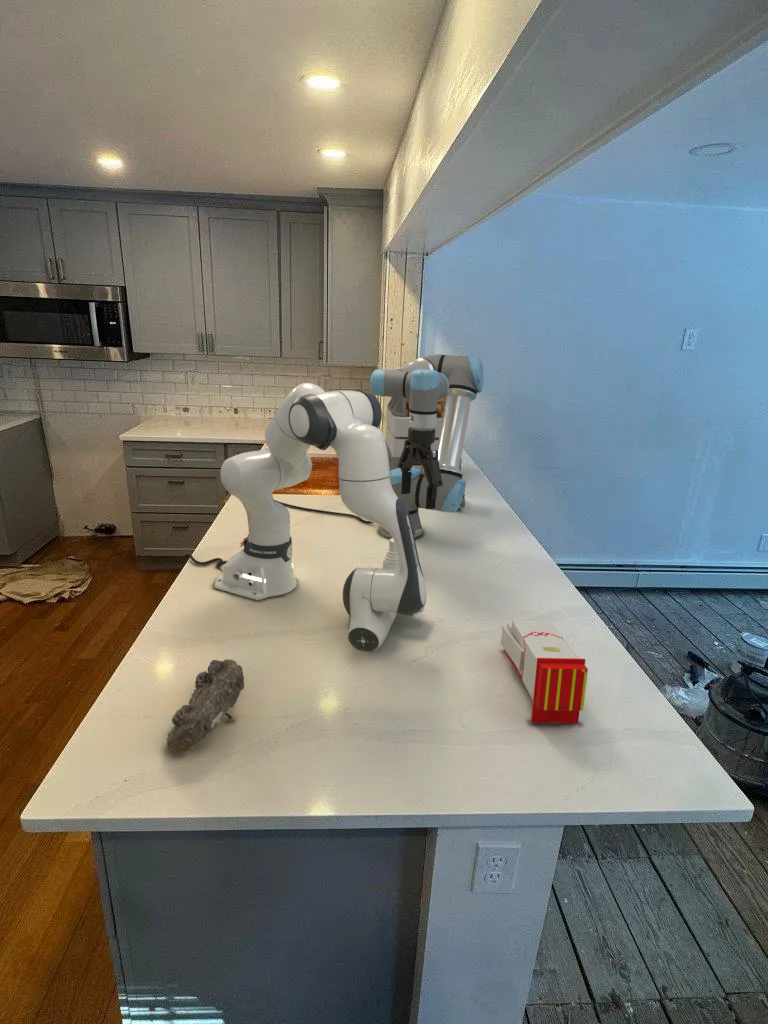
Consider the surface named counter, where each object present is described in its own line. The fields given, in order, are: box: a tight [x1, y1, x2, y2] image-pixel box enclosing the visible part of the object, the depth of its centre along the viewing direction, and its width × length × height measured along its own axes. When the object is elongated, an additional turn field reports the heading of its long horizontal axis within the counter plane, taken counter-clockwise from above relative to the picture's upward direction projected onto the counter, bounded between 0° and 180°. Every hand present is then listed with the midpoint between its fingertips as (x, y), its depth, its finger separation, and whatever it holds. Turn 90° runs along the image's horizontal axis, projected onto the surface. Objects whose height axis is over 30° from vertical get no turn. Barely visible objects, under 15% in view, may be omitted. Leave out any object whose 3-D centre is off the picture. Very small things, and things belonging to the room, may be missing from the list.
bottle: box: [382, 538, 400, 570], centre depth 149 cm, size 5×5×19 cm
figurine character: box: [458, 493, 466, 511], centre depth 229 cm, size 7×8×15 cm
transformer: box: [384, 396, 463, 472], centre depth 268 cm, size 34×33×41 cm
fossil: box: [166, 658, 245, 754], centre depth 106 cm, size 22×10×15 cm
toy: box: [500, 620, 589, 724], centre depth 121 cm, size 12×13×30 cm
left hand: (392, 582), depth 151 cm, fingers open, 6 cm apart
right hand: (417, 500), depth 163 cm, fingers open, 13 cm apart
